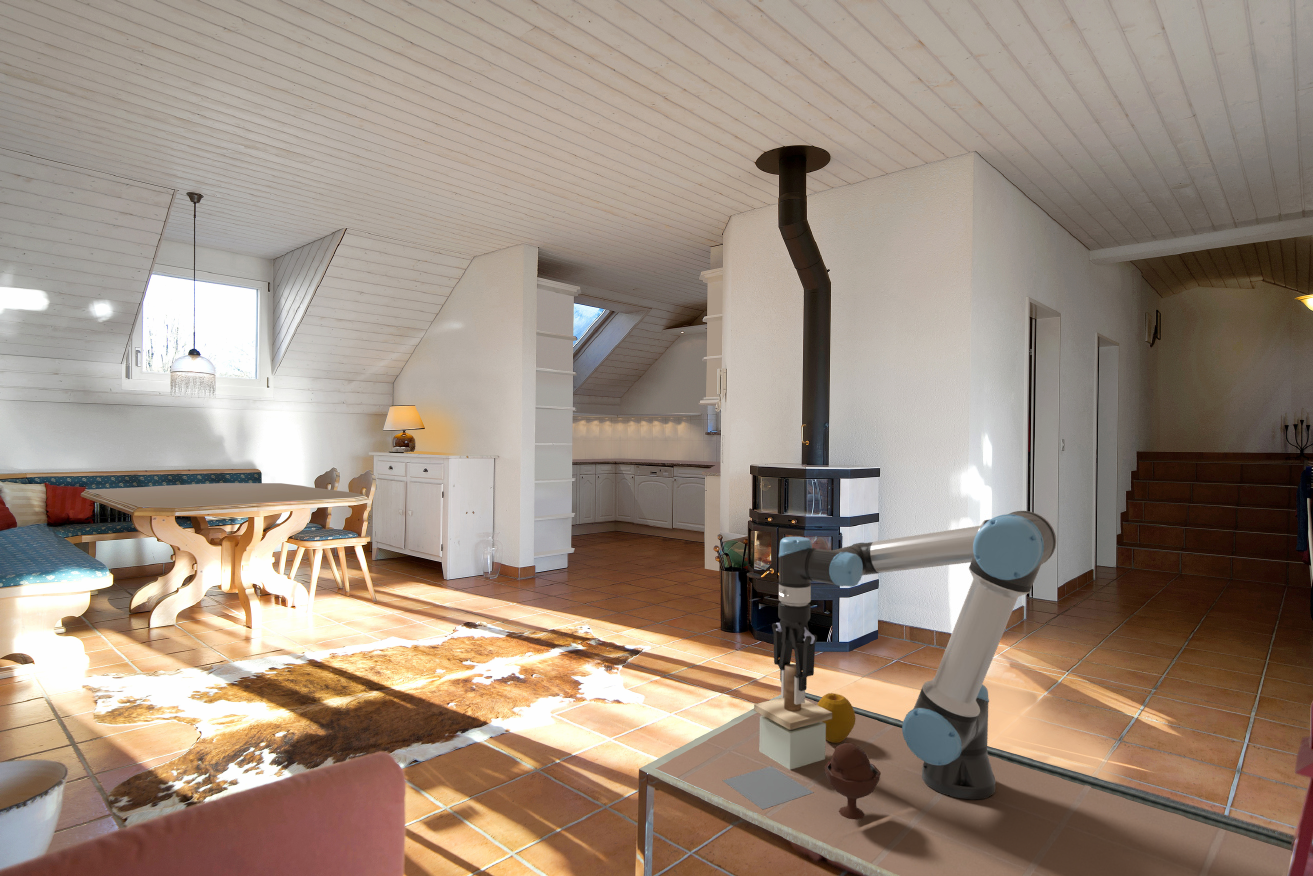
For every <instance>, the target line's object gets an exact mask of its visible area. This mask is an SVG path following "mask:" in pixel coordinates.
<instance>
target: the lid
mask: <svg viewBox="0 0 1313 876" xmlns="http://www.w3.org/2000/svg"><path fill="white" fill-rule="evenodd" d="M795 675H797V669H796V663H790V664H787V665H785V686H784V698H782V697H780V698H776V699H771V700H767V701H763V702H759V703H758V702H757V703H754V704H753V711H754V712H756V713H758V714H760V716H765V717H767V718H769V719H771V720H773V721H774V722H776V723H778V724H780V725H782V726H784V727H785V728H787V729H789V730H792V729H796V728H799V727H803V726H807V725H811V724H814V723H818V722H822V721H825V720H829V719H832V712H830V711H828V710H826V709H824V708H822V707H820V706H818V705H817V704H815V703H813V702H811V701H809V700H807V699H805V703H801V704H797V705H796V704H794V678H795Z"/></svg>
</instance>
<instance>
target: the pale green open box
mask: <svg viewBox="0 0 1313 876" xmlns="http://www.w3.org/2000/svg"><path fill="white" fill-rule="evenodd" d="M758 739H759V745H758V746H759V747H758V748H759V749H758V750H759V751H758V752H760V753H761V754H763V755H765V756H766V757H767V758H770V759H771V760H773V761H775V762H776V763H777V764H779V765H781V766H783V768H786V769H787V770H789V771H790V770H794V769H798V768H800V767H804V766H808V765H810V764H814V763H817V762H820V761H823V760H826V741H827V740H826V724H825V723H823V722H818V723H814V724H811V725H807V726H803V727H799V728H796V729H792V730H789V729H787V728H785V727H784V726H782V725H780V724H778V723H776V722H774V721H773V720H771V719H769V718H767V717H765V716H763V715H760V716H759V738H758Z"/></svg>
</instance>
